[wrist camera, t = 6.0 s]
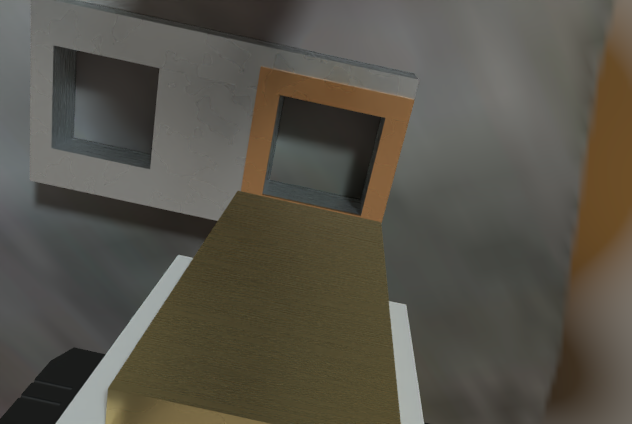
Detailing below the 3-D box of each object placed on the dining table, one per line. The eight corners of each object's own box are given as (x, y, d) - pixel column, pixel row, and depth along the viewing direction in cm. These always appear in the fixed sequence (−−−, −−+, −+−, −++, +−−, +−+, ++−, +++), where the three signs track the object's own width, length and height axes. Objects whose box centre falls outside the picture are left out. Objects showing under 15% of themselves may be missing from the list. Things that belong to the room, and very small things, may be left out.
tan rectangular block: (217, 313, 18) (93, 587, 9) (237, 190, 16) (108, 388, 8) (348, 342, 18) (338, 640, 9) (380, 221, 16) (403, 452, 8)
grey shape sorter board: (52, 168, 33) (27, 181, 31) (56, -4, 30) (28, -5, 27) (371, 236, 33) (372, 255, 31) (414, 73, 30) (419, 80, 27)
